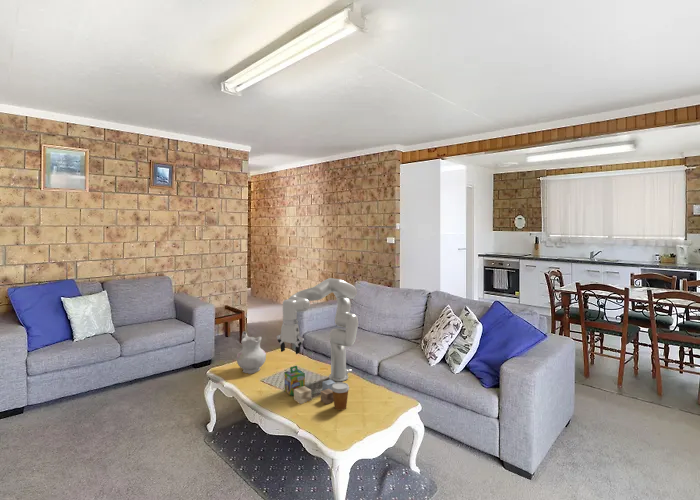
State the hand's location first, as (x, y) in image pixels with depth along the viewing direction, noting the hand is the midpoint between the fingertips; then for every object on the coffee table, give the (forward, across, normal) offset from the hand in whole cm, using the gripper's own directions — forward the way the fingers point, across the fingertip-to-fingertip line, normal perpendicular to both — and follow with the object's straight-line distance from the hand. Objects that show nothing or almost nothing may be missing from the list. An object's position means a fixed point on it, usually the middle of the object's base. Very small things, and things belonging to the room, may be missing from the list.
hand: (290, 352), depth 213 cm
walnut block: (+27, -20, -6) cm, 34 cm away
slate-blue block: (+27, -15, -18) cm, 35 cm away
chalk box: (+27, +3, -9) cm, 29 cm away
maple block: (+27, -7, -2) cm, 28 cm away
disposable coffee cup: (+27, -30, -2) cm, 40 cm away
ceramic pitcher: (+27, +49, -26) cm, 62 cm away
